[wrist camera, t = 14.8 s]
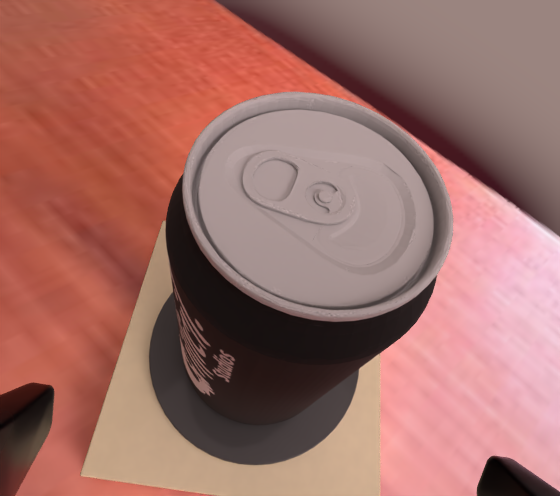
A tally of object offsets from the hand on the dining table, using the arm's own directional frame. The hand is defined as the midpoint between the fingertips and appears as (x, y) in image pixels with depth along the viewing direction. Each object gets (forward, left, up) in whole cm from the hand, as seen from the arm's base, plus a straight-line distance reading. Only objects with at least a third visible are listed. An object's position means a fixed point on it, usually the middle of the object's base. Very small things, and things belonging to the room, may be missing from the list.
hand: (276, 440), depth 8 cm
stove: (+4, -3, -12) cm, 13 cm away
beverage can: (+4, -3, -10) cm, 11 cm away
